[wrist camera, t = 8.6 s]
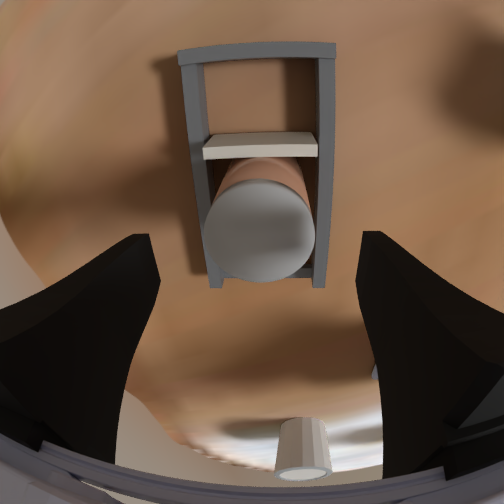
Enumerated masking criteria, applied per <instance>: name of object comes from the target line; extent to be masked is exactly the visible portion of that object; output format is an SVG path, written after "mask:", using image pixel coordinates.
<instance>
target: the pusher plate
mask: <svg viewBox="0 0 504 504" xmlns="http://www.w3.org/2000/svg"><path fill="white" fill-rule="evenodd" d="M317 156H318V144H317V142H316V140H315V139H314V137H313V135H312V133H311V132H256V133H233V134H217V135H213V136H212V137H211V139H210V140H209V141H208V142H207V143H206V144H205V145H204V147H203V157H204V160H206V159H224V158H247V157H317Z"/></svg>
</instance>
